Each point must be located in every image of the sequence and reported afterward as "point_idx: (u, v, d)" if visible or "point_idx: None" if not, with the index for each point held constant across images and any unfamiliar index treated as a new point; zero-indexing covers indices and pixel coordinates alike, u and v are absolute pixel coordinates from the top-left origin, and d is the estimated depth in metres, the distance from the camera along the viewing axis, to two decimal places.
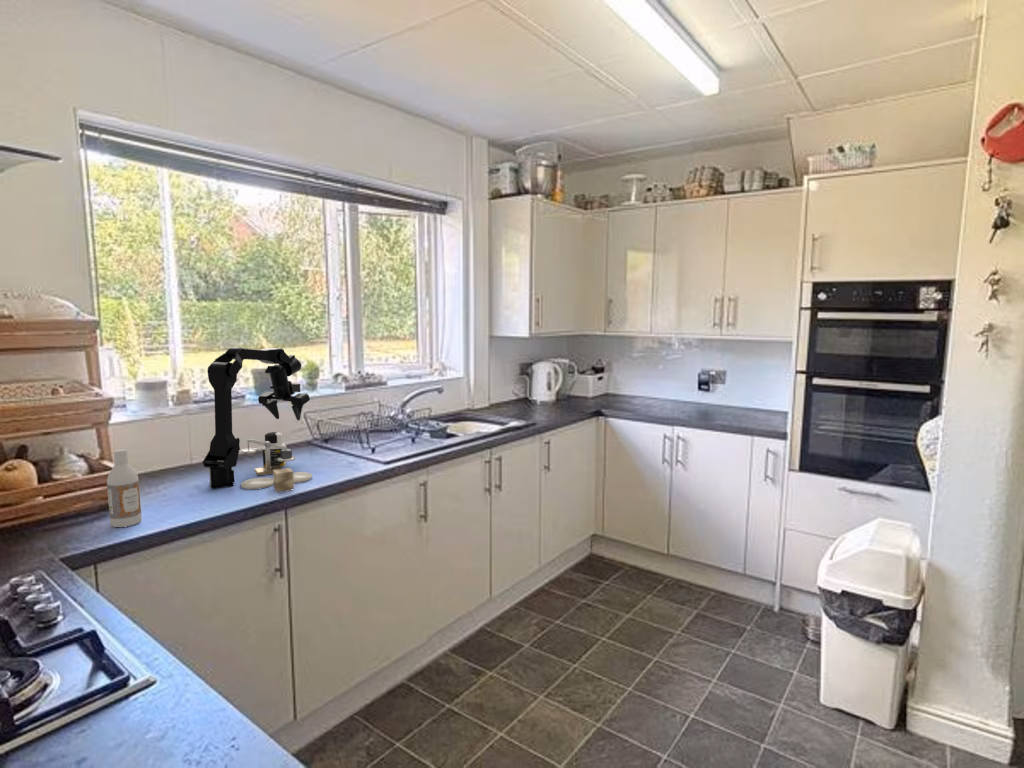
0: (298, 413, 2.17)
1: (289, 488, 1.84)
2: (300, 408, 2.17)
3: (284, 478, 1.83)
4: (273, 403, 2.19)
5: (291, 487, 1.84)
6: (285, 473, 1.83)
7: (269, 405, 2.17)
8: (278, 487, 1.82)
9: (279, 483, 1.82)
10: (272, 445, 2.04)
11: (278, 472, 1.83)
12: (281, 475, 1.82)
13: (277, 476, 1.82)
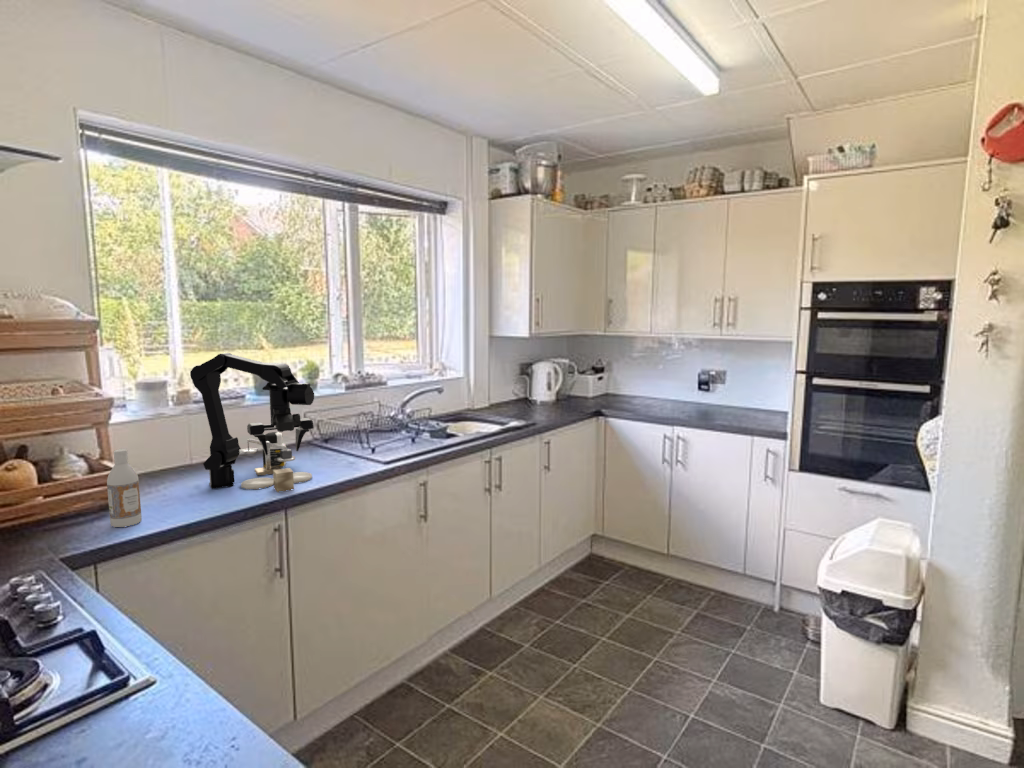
0: (261, 444, 1.81)
1: (289, 488, 1.84)
2: None
3: (284, 478, 1.83)
4: (297, 431, 1.86)
5: (291, 487, 1.84)
6: (285, 473, 1.83)
7: (296, 429, 1.88)
8: (278, 487, 1.82)
9: (279, 483, 1.82)
10: (272, 445, 2.04)
11: (278, 472, 1.83)
12: (281, 475, 1.82)
13: (277, 476, 1.82)
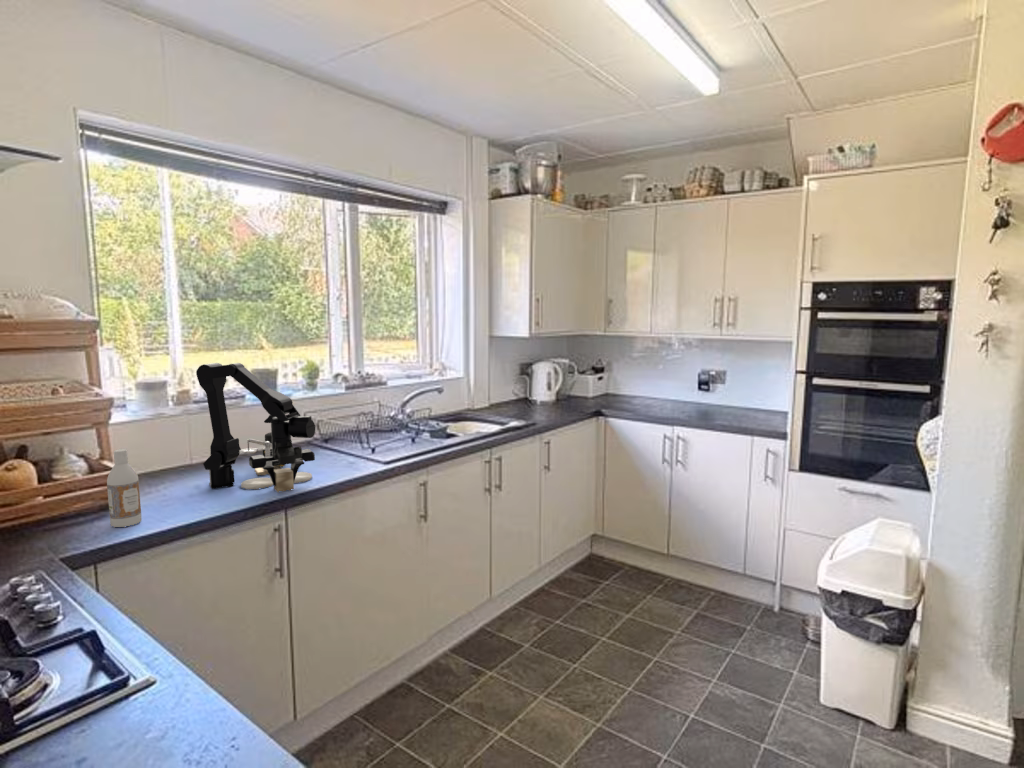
0: None
1: (289, 488, 1.84)
2: None
3: (284, 478, 1.83)
4: (293, 464, 1.86)
5: (291, 487, 1.84)
6: (285, 473, 1.83)
7: None
8: (278, 487, 1.82)
9: (279, 483, 1.82)
10: None
11: (278, 472, 1.83)
12: (281, 475, 1.82)
13: (277, 476, 1.82)
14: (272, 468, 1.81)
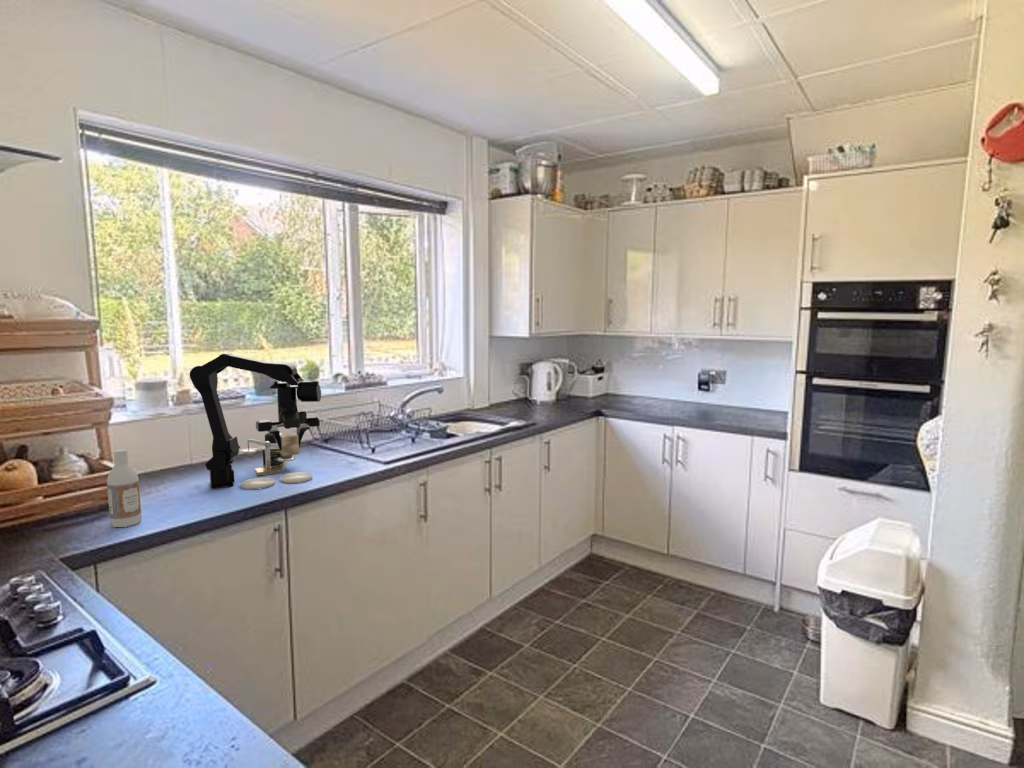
0: (276, 440, 1.88)
1: (294, 452, 1.88)
2: None
3: (289, 442, 1.87)
4: (298, 429, 1.91)
5: (296, 451, 1.89)
6: (290, 437, 1.87)
7: (297, 427, 1.93)
8: (284, 451, 1.87)
9: (285, 447, 1.87)
10: (272, 445, 2.04)
11: (284, 436, 1.87)
12: (286, 439, 1.87)
13: (283, 440, 1.86)
14: (278, 432, 1.85)
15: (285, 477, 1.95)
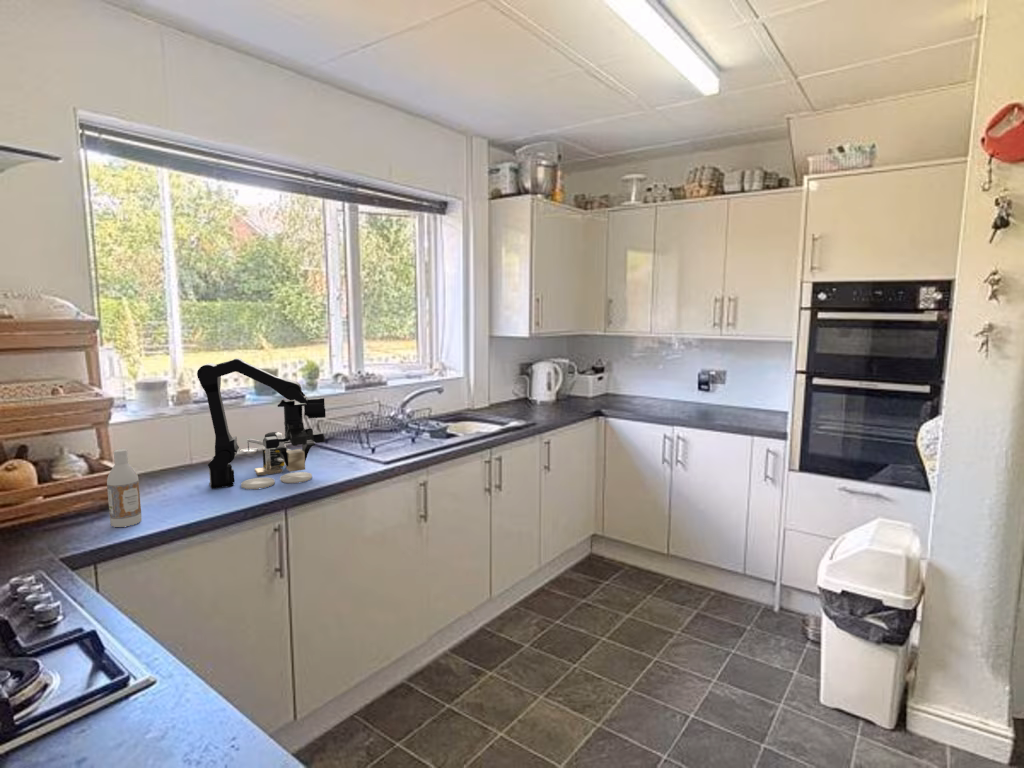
0: (282, 456, 1.94)
1: (301, 468, 1.94)
2: None
3: (296, 458, 1.93)
4: (304, 445, 1.97)
5: (302, 467, 1.95)
6: (297, 453, 1.93)
7: (302, 443, 1.99)
8: (290, 466, 1.92)
9: (291, 463, 1.93)
10: None
11: (290, 452, 1.93)
12: (293, 455, 1.93)
13: (289, 456, 1.92)
14: (285, 448, 1.91)
15: (285, 477, 1.95)
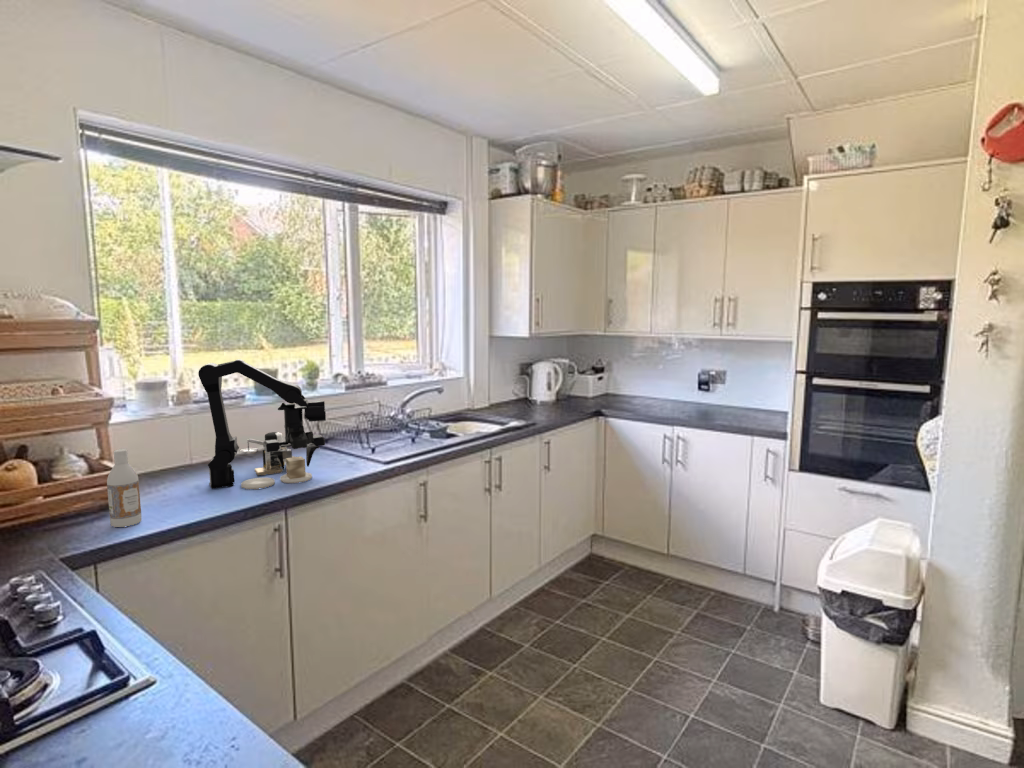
0: None
1: (301, 475, 1.95)
2: None
3: (296, 466, 1.94)
4: (308, 448, 1.98)
5: (303, 474, 1.95)
6: (297, 461, 1.94)
7: (306, 446, 1.99)
8: (291, 474, 1.93)
9: (292, 470, 1.93)
10: None
11: (291, 460, 1.94)
12: (294, 463, 1.93)
13: (290, 464, 1.92)
14: (281, 452, 1.90)
15: (285, 477, 1.95)
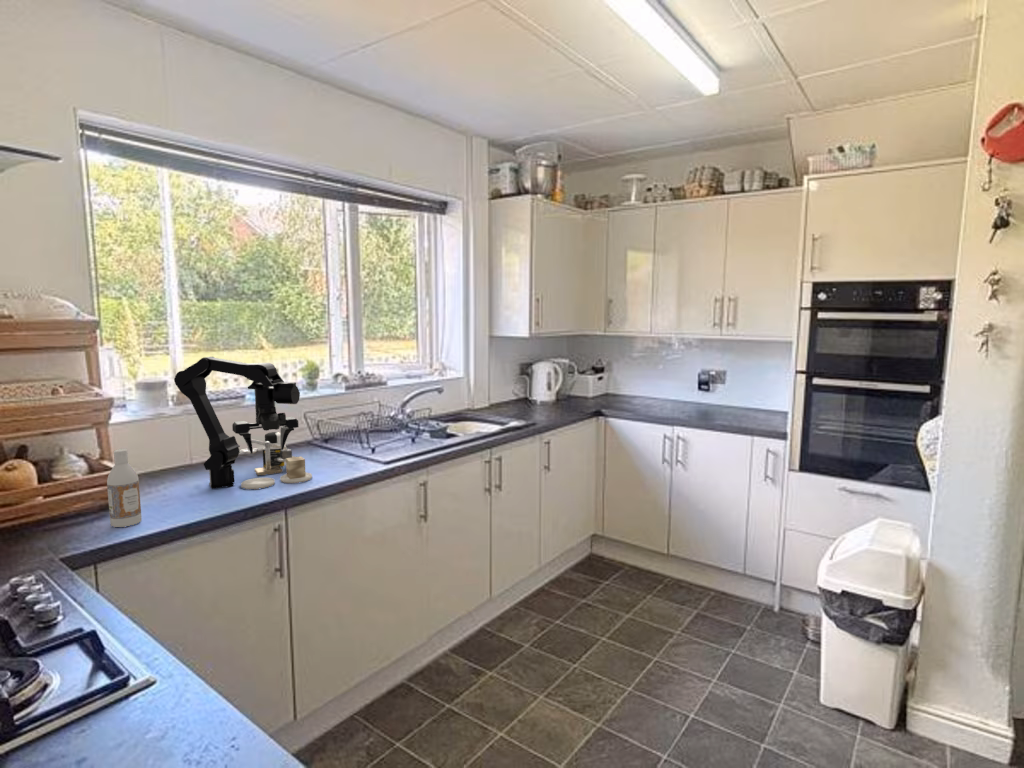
0: None
1: (301, 475, 1.95)
2: None
3: (296, 466, 1.94)
4: (282, 430, 1.88)
5: (303, 474, 1.95)
6: (297, 461, 1.94)
7: (281, 428, 1.90)
8: (291, 474, 1.93)
9: (292, 470, 1.93)
10: (272, 445, 2.04)
11: (291, 460, 1.94)
12: (294, 463, 1.93)
13: (290, 464, 1.92)
14: (249, 434, 1.80)
15: (285, 477, 1.95)
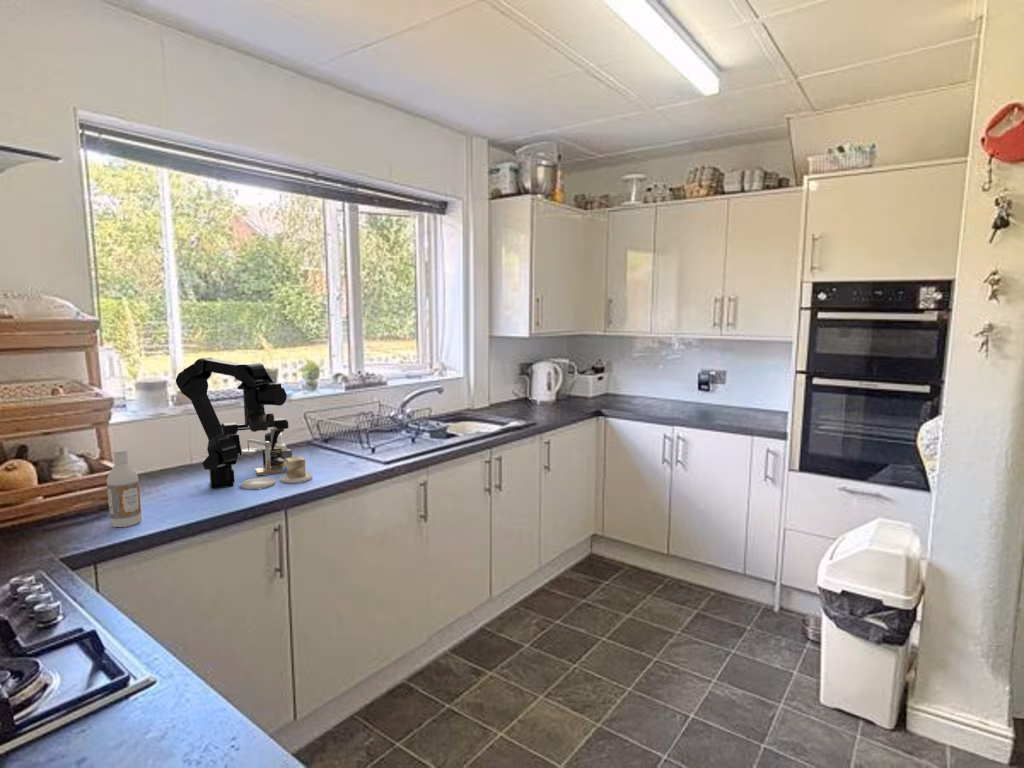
0: (235, 445, 1.80)
1: (301, 475, 1.95)
2: None
3: (296, 466, 1.94)
4: (272, 431, 1.85)
5: (303, 474, 1.95)
6: (297, 461, 1.94)
7: (271, 429, 1.87)
8: (291, 474, 1.93)
9: (292, 470, 1.93)
10: None
11: (291, 460, 1.94)
12: (294, 463, 1.93)
13: (290, 464, 1.92)
14: (237, 436, 1.77)
15: (285, 477, 1.95)
